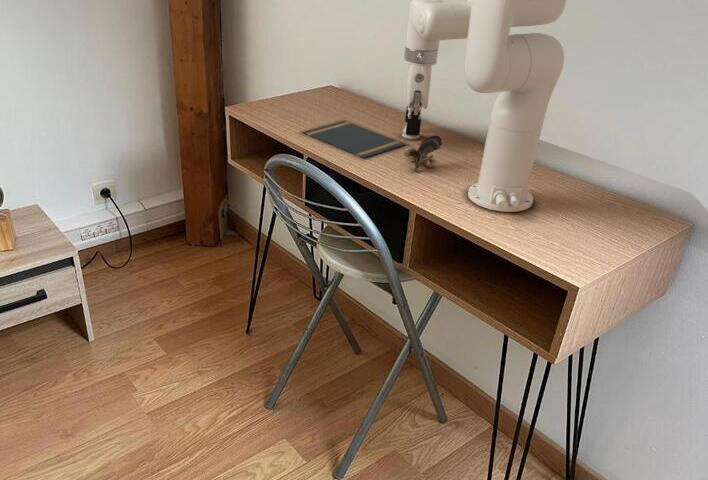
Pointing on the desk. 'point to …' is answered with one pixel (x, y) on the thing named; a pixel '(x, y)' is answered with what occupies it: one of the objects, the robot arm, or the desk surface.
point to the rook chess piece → (409, 137)
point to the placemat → (354, 139)
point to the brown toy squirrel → (424, 151)
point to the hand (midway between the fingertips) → (411, 128)
